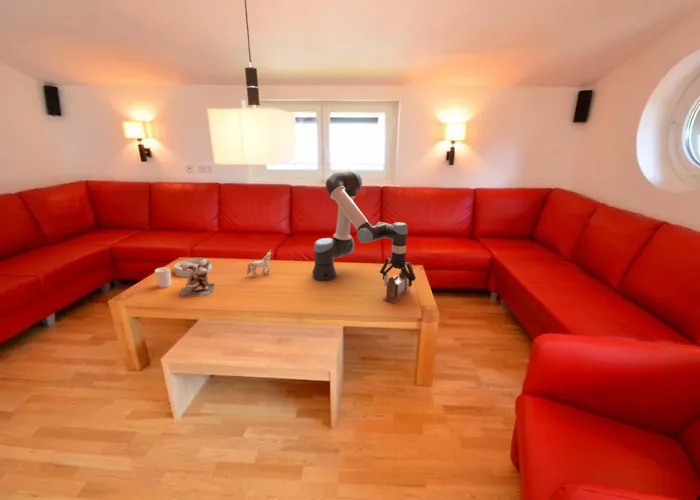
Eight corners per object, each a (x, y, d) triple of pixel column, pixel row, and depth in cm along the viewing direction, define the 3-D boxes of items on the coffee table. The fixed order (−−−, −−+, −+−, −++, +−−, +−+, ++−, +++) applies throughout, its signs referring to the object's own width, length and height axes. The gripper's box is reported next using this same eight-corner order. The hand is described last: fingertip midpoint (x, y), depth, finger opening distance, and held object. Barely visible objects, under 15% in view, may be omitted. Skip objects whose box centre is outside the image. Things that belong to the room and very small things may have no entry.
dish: (217, 271, 233) (216, 263, 231) (182, 280, 218) (181, 272, 217) (203, 262, 248) (202, 255, 246) (169, 270, 233) (168, 263, 232)
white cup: (167, 281, 215) (164, 266, 212) (175, 284, 211) (172, 268, 208) (154, 286, 209) (151, 270, 206) (162, 289, 205) (160, 273, 202)
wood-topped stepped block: (388, 295, 196) (389, 280, 193) (396, 290, 203) (396, 275, 200) (397, 298, 194) (398, 282, 191) (404, 292, 201) (405, 276, 198)
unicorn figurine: (278, 271, 232) (277, 252, 228) (252, 280, 218) (251, 259, 214) (272, 268, 236) (270, 249, 232) (246, 277, 223) (244, 256, 218)
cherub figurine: (177, 298, 194) (172, 267, 188) (183, 285, 211) (178, 256, 205) (212, 295, 198) (208, 264, 193) (215, 282, 215) (211, 254, 209)
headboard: (383, 300, 193) (384, 277, 189) (398, 288, 208) (399, 266, 204) (395, 303, 189) (396, 279, 185) (409, 290, 205) (410, 268, 200)
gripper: (374, 249, 194) (373, 285, 201) (418, 258, 182) (415, 296, 188) (381, 246, 200) (379, 281, 207) (423, 254, 188) (420, 291, 194)
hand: (396, 288), depth 198 cm, fingers open, 13 cm apart
